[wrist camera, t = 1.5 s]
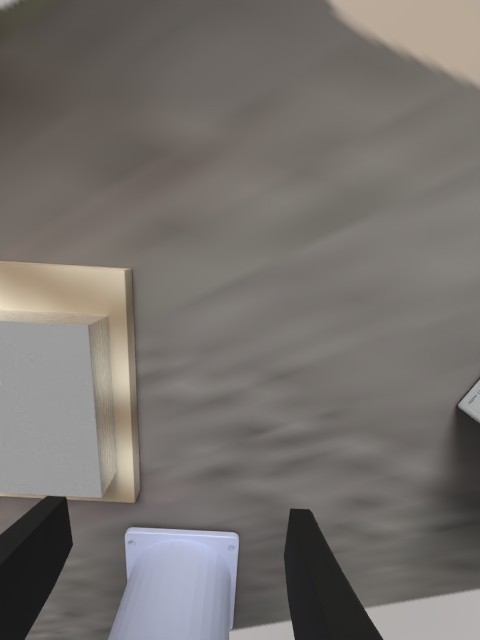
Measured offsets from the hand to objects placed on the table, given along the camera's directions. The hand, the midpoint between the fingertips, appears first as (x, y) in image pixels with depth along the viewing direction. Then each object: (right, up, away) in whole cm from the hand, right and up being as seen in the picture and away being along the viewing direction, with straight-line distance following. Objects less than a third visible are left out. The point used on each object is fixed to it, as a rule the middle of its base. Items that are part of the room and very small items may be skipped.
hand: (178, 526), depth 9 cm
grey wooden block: (-9, +2, +7) cm, 12 cm away
